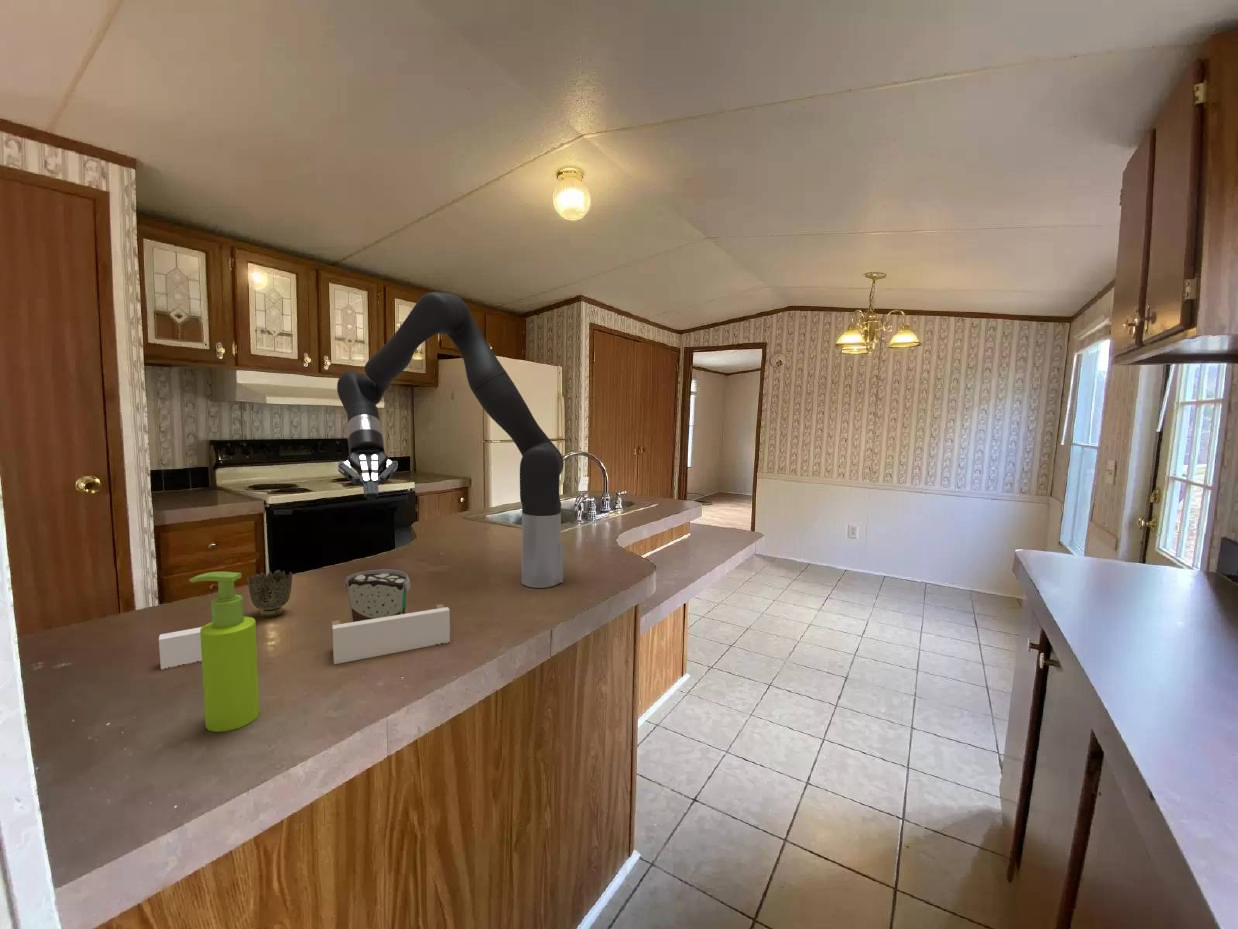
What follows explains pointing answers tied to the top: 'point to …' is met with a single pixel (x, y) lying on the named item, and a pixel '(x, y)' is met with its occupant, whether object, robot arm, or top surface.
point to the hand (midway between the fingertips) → (371, 497)
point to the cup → (270, 592)
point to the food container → (377, 594)
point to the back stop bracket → (390, 634)
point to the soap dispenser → (228, 658)
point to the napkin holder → (180, 648)
